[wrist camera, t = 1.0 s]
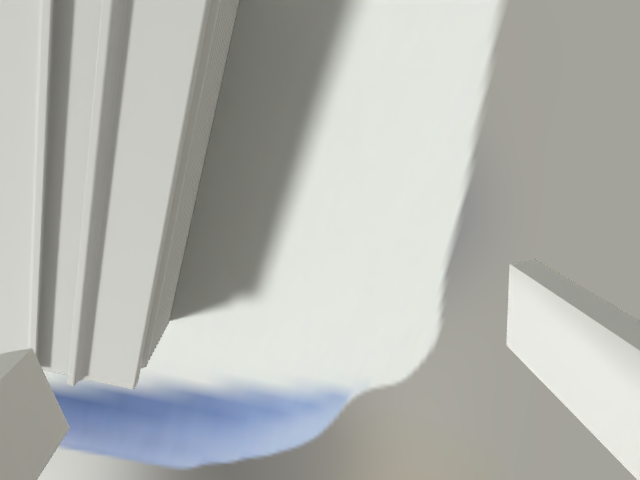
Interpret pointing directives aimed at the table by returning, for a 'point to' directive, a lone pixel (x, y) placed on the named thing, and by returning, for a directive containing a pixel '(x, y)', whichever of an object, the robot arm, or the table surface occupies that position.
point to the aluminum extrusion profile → (101, 172)
